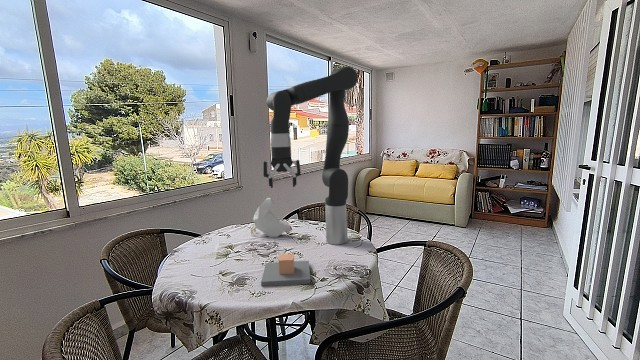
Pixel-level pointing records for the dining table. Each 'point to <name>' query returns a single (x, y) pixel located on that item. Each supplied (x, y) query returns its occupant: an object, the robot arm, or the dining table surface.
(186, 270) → the dining table surface
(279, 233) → the chicken
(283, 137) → the robot arm
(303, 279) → the mat
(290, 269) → the cube
